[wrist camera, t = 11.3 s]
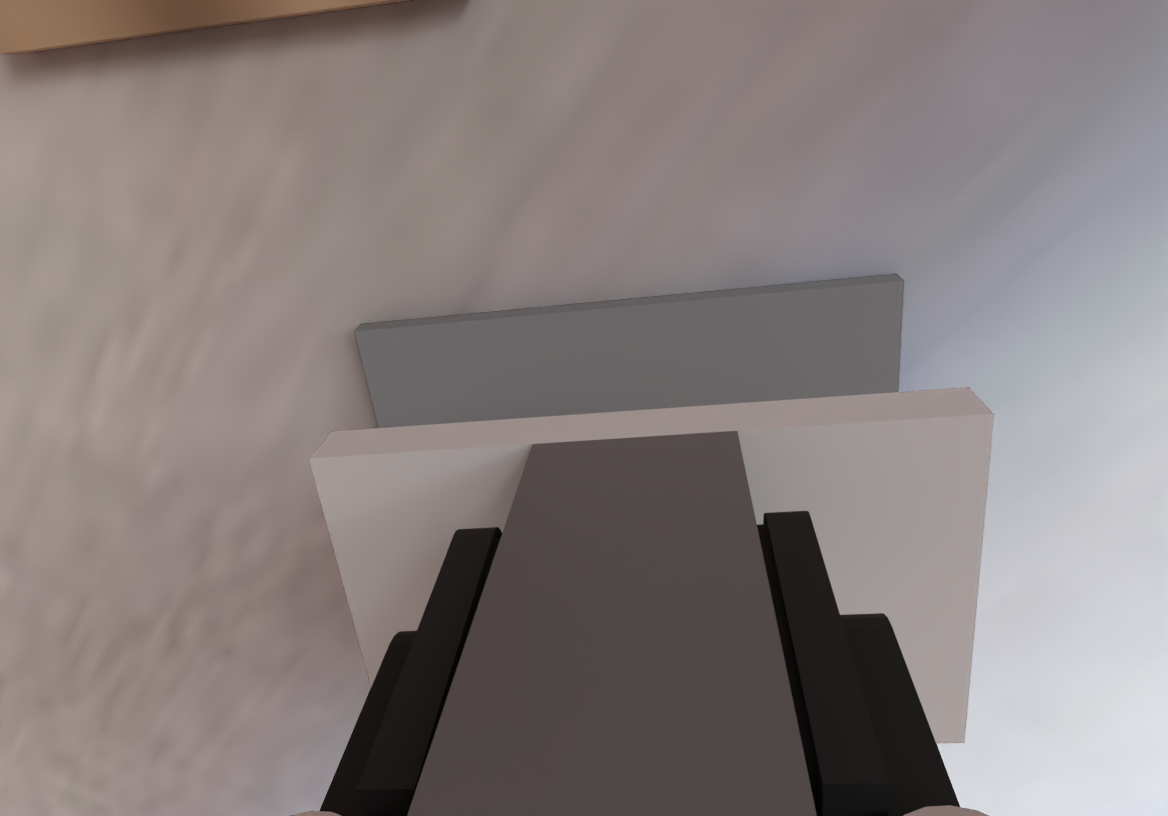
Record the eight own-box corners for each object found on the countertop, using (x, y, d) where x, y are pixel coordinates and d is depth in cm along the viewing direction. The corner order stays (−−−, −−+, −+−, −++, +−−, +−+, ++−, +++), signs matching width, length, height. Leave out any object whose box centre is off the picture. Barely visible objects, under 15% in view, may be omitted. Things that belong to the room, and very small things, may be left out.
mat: (896, 273, 20) (904, 280, 20) (874, 737, 27) (879, 752, 26) (361, 323, 22) (354, 331, 21) (466, 751, 28) (463, 765, 28)
